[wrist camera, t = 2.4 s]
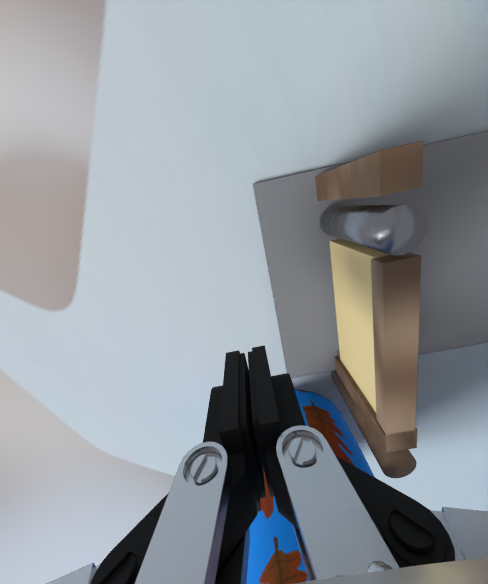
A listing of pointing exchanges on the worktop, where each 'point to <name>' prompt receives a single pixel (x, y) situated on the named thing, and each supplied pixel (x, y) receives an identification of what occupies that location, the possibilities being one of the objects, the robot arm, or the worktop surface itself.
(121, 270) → the worktop surface
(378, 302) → the gate
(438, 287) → the gate frame
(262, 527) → the thermos
